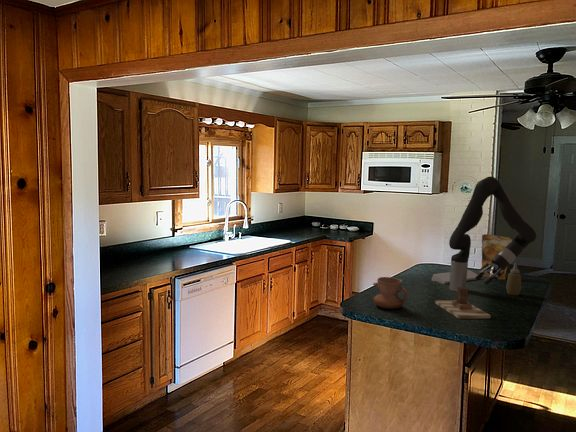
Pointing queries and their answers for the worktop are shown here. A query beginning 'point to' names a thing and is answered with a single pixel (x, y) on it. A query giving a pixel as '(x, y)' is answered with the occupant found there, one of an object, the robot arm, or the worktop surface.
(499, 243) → the pancake mix bag
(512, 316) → the worktop surface
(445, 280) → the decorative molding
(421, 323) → the worktop surface
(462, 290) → the block
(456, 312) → the birch board
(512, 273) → the squeeze bottle
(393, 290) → the ceramic jug
